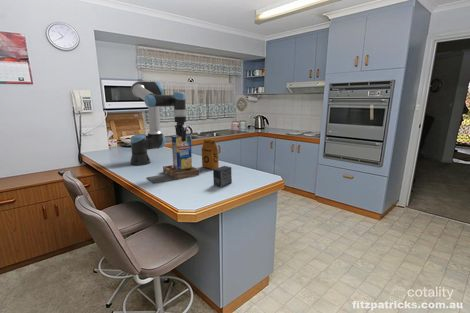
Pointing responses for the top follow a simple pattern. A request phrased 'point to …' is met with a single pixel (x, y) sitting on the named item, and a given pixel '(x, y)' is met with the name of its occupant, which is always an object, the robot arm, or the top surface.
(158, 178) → the mat
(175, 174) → the frame
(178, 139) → the beverage box
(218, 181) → the small box
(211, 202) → the top surface
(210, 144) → the coffee package
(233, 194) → the top surface
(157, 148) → the robot arm
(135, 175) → the top surface
